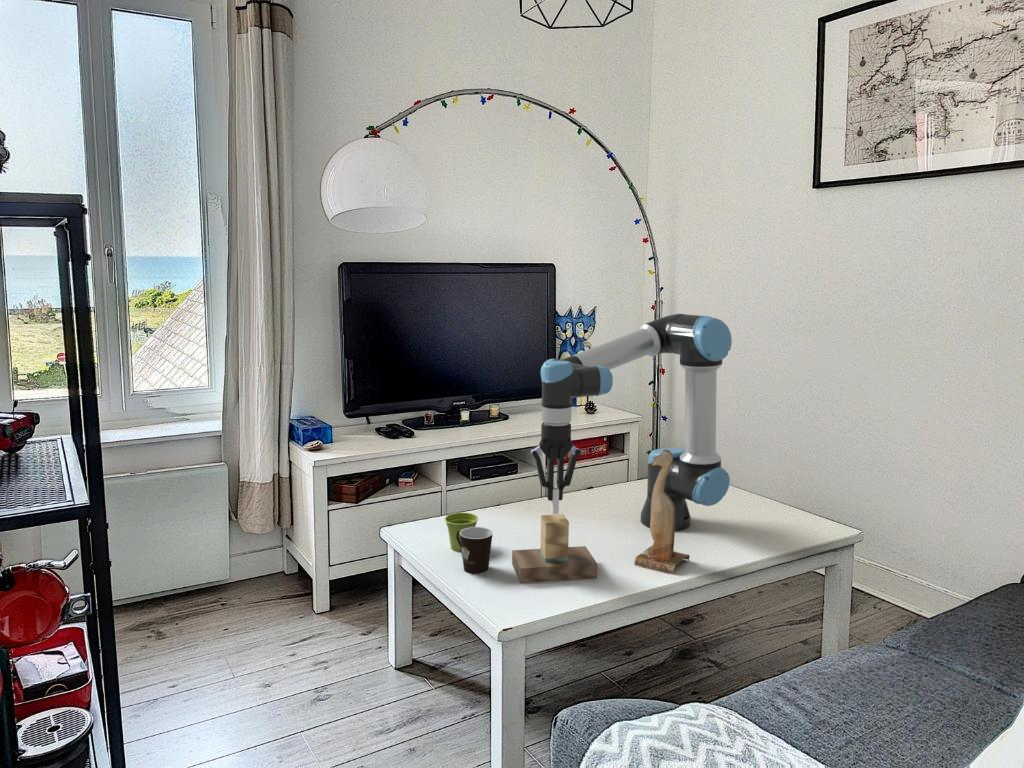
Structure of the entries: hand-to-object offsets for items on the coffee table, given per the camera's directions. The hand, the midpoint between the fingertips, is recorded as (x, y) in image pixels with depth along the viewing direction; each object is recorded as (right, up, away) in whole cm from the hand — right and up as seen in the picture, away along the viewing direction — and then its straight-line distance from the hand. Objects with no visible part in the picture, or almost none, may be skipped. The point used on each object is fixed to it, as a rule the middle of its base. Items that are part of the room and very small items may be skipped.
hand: (554, 512), depth 202 cm
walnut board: (0, -16, +3) cm, 16 cm away
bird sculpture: (+29, -15, +9) cm, 34 cm away
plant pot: (-25, -13, +19) cm, 34 cm away
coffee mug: (-21, -15, +5) cm, 26 cm away
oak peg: (0, -15, +3) cm, 16 cm away
